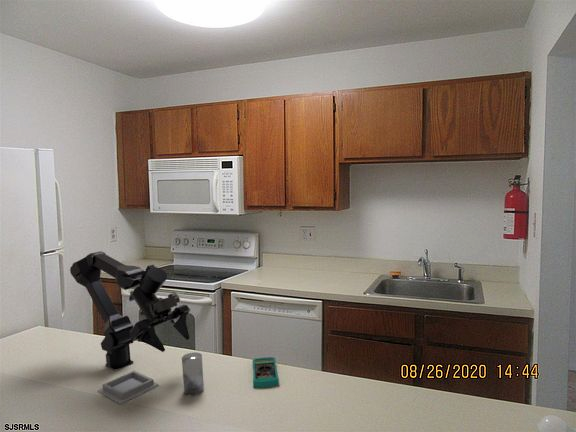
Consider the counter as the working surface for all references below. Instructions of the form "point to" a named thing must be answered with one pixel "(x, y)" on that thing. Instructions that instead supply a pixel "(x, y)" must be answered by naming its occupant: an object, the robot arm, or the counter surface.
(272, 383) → the digital multimeter
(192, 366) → the metal cylinder
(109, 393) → the holder
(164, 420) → the counter surface
